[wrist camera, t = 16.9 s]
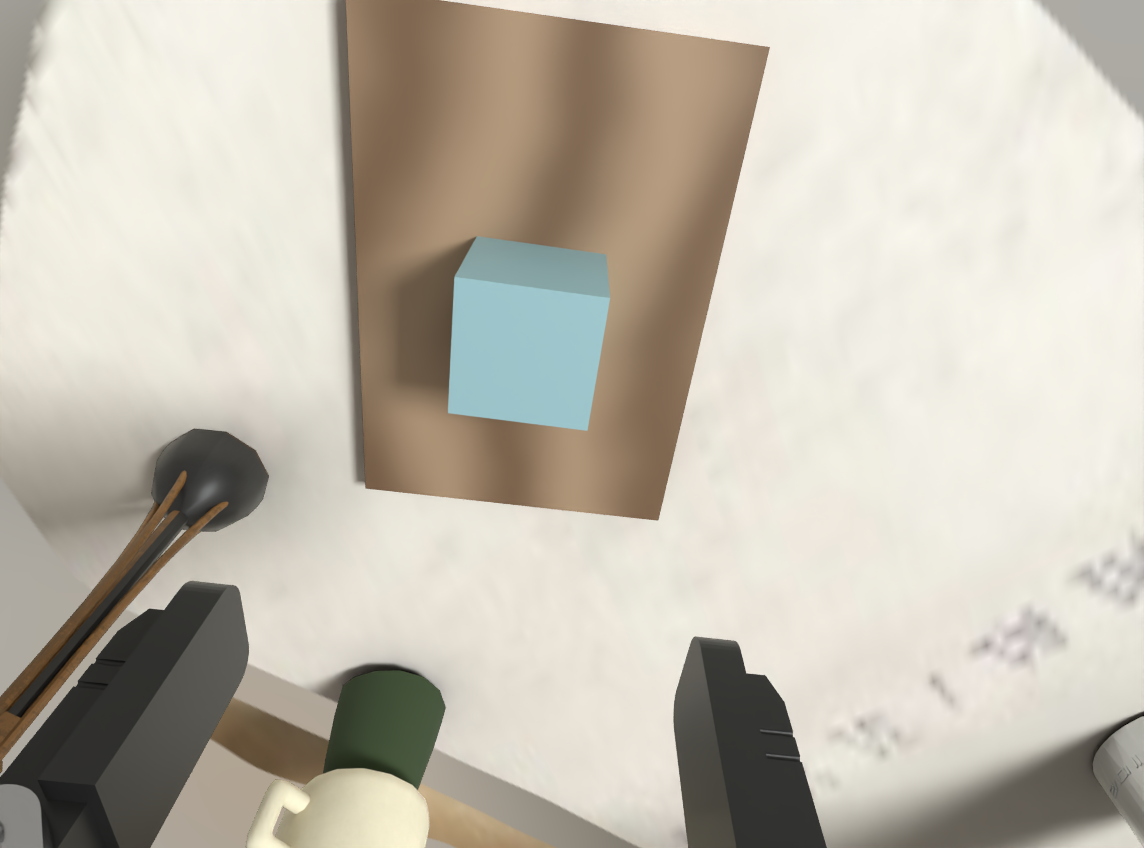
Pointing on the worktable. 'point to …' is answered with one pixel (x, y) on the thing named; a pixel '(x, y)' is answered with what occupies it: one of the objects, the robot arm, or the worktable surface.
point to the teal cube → (527, 333)
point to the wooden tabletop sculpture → (143, 559)
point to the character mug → (362, 772)
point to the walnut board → (537, 231)
